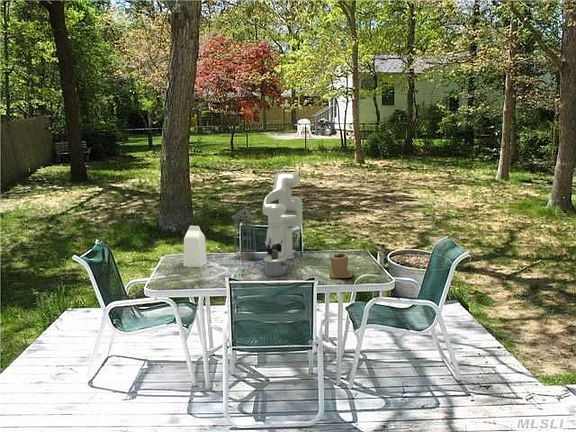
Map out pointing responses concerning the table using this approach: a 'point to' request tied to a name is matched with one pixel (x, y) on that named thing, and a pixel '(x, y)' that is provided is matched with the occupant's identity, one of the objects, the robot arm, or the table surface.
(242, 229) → the geometric lantern
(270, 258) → the lid
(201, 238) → the milk
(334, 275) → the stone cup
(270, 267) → the pot
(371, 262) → the table surface
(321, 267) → the table surface
